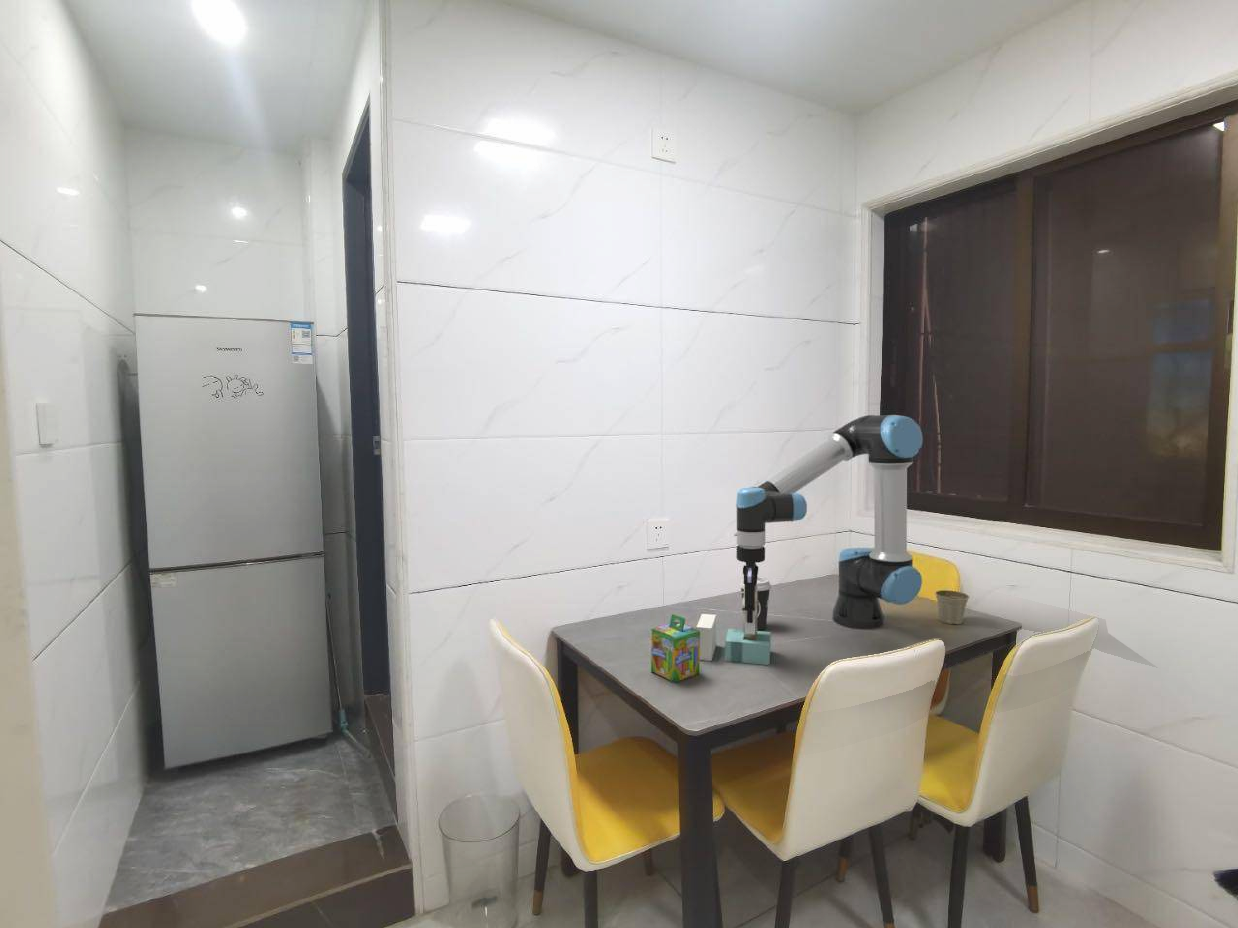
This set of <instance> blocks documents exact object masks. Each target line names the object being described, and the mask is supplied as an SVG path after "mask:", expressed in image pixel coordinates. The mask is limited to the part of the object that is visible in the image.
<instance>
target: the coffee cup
mask: <svg viewBox="0 0 1238 928" xmlns="http://www.w3.org/2000/svg"><path fill="white" fill-rule="evenodd" d="M744 585H745V584H744V577H743V578H742V579H741V581H740V582H739V588H740V591H741V601H742V608H744ZM756 585H757V601H758V604H757V631H762V632H763V631H764V630H766V628H767V620H768V619H767V618H768V609H769V598H770V590H771V588H772V585H771V583H770V581H769V579H768V578H766V577H762V576H758V575H757V584H756ZM742 613H743V617H744V610H742Z"/></svg>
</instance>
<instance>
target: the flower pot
mask: <svg viewBox="0 0 1238 928" xmlns="http://www.w3.org/2000/svg"><path fill="white" fill-rule="evenodd" d="M934 594H935V596H936V600H937V606H938V616H939V620H940V622H942V623H945V624H949V625H952V624H954V625H960V624H962V623H963V620H964V616H965V615H964V614H965V610H966V606H967V603H968V601H969V599H970V595H968V594H966V593H965V592H961V591H956V590H948V589H942V590H940V589H939V590H936V591H935V592H934Z"/></svg>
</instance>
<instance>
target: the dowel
mask: <svg viewBox="0 0 1238 928" xmlns="http://www.w3.org/2000/svg"><path fill="white" fill-rule="evenodd" d="M744 607H745V585H744ZM743 630H744V640H755V641H757V585H755V634H745V610H744V616H743Z"/></svg>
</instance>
